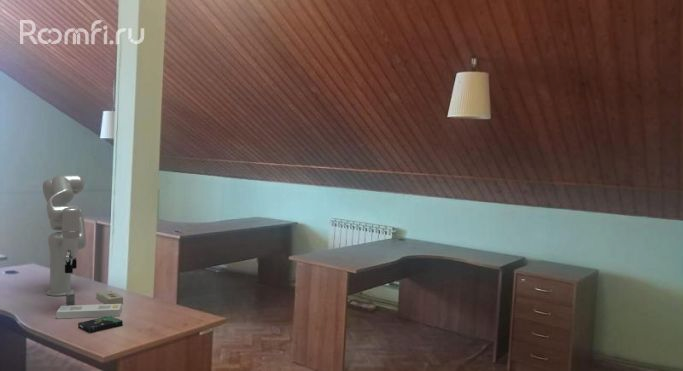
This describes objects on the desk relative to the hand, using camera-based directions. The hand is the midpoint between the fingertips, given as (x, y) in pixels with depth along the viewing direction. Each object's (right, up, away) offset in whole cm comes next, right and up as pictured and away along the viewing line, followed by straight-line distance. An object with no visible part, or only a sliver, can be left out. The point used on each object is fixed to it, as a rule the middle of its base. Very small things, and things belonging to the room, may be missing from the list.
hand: (70, 270), depth 266 cm
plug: (-1, -18, +1) cm, 18 cm away
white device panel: (+11, -19, -6) cm, 23 cm away
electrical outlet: (+11, -18, +16) cm, 27 cm away
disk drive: (+23, -21, -22) cm, 38 cm away
